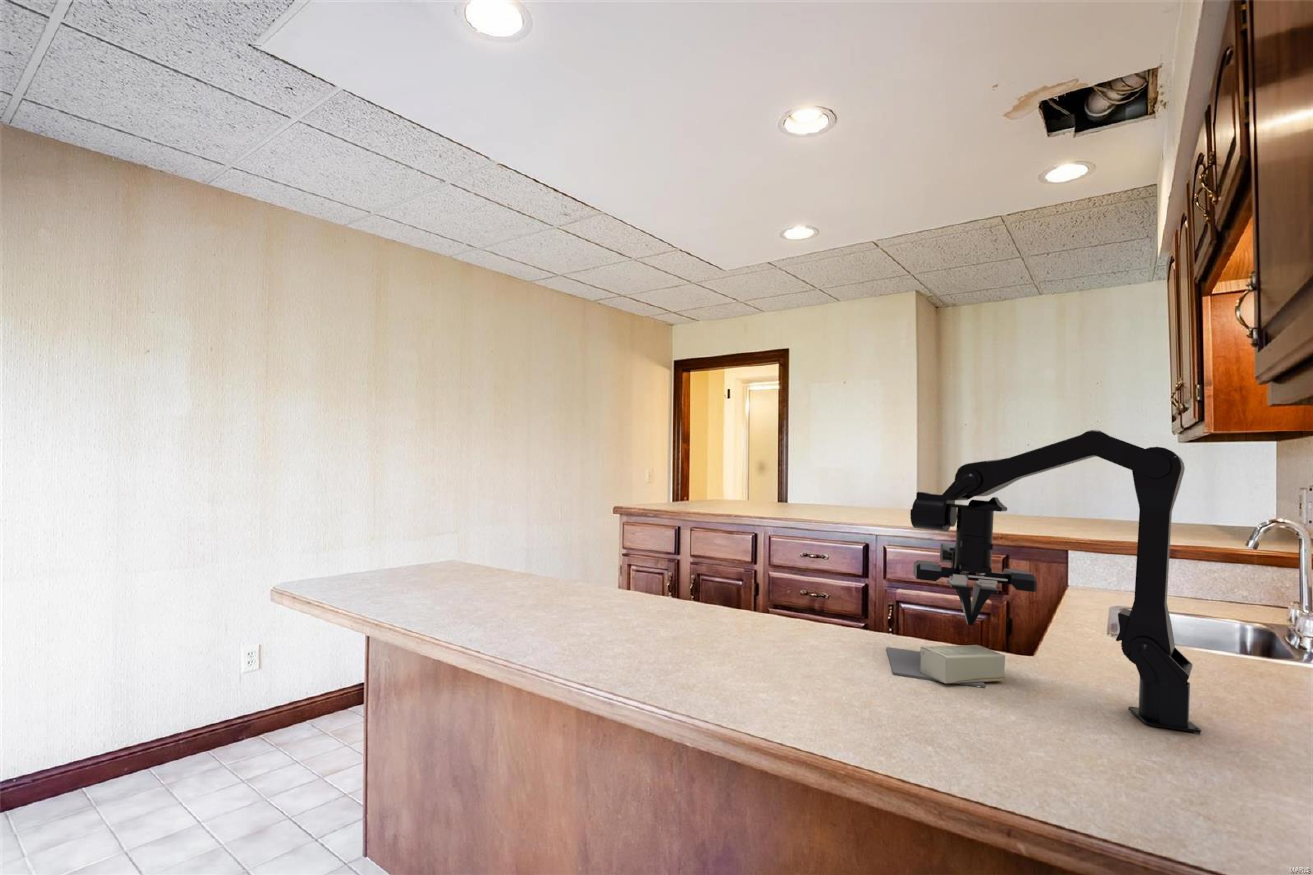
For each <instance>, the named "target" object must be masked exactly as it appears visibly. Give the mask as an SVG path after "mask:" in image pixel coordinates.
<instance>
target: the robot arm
mask: <svg viewBox="0 0 1313 875" xmlns="http://www.w3.org/2000/svg"><path fill="white" fill-rule="evenodd" d="M1095 457H1097V458H1100V459H1102V460H1105V461H1108V462H1111V463H1113V464H1115V465H1117V466H1121V467H1123V468H1125V469H1128V470H1129V471H1131V473H1132V479H1133V483H1134V489H1135V490H1134V491H1135V494H1136V498H1137V499H1136V500H1137V503H1138V508H1139V510H1138V511H1139V513H1138V515H1139V516H1138V530H1137V531H1138V532H1137V547H1136V548H1137V550H1136V564H1135V565H1136V566H1135V582H1134V583H1135V584H1134V597H1133V598H1134V599H1133V602H1132V607H1131V608H1130V609H1129V608H1123V609H1122V610H1120V611H1119V612H1118V613H1117V620H1118V626H1119V631H1118V635H1117V637H1116V638H1115V641H1116V642H1120V641H1121V643H1120V645H1121V652H1123V655H1124V657H1126V659H1128V660H1129V662H1130V663H1132V664H1134V665H1135V667H1136V670H1137V672H1138V675H1139V683H1138V684H1139V688H1138V707H1137V706H1128V707H1127V708H1128V711H1130V713H1132V714H1133V715H1134V716H1135V717H1136V718H1138V719H1139V720H1140V721H1141V722H1143V723H1145V725H1147V726H1151V727H1157V728H1158V727H1159V728H1164V729H1171V730H1176V731H1178V730H1179V731H1184V732H1191V733H1196V734H1197V733H1198V734H1201V732H1202V729H1201V728H1200V727H1198V726H1197V725H1196V724H1194V723H1193V722H1191V721H1190V696H1191V694H1190V693H1191V683H1190V682H1189V681H1188V680H1189V678H1190V676H1191V672H1192V670H1193V666H1194V665H1193V663H1192V662H1191V661H1190V660H1189V659H1188V658H1187V657H1185V655H1183V653H1182V652H1180V650H1178V649H1177V648H1176V647H1175V644H1176V643H1175V638H1174V632H1173V631H1174V630H1173V626H1172V625H1173V624H1172V620H1171V616H1170V612H1169V607H1168V606H1169V605H1168V585H1169V570H1170V569H1169V568H1170V554H1171V553H1170V551H1171V549H1170V548H1171V534H1172V517H1173V516H1172V514H1173V510H1174V505H1175V502H1176V500H1177V497H1178V494H1179V491H1180V488H1181V484H1182V481H1183V478H1184V473H1185V463H1184V461H1183V459H1182V457H1180V456H1179V455H1178V454H1177V453H1176V452H1174V451H1172V450H1170V449H1168V448H1166V447H1160V446H1150V447H1146V448H1144V447H1141V446H1139V445H1136V444H1133V443H1129V442H1127V441H1125V440H1121V439H1118V438H1116V437H1114V436H1111V435H1109V434H1108V433H1105V432H1103V431H1101V430H1099V429H1091V430H1087V431H1085V432H1083V433H1082V434H1078V435H1077V436H1074V437H1070V438H1067V439H1063V440H1061V441H1058V442H1054V443H1051V444H1048V445H1045V446H1042V447H1039V448H1035V449H1032V450H1030V451H1025V452H1023V453H1019V454H1017V455H1014V456H1011V457H1005V458H1000V459H991V460H981V461H975V462H969V463H965V464H963V465H961V466H959V468H957V470H956V473H955V474H954V481H953V482H952V483H951V484H950V486H949V487H948V488H947V489H946V490H945V491H944V492H943V493H942V494H936V493H929V492H925V491H917V492H916V498H915V499H914V501H913V504H912V507H911V508H912V509H910V512H909V513H910V523H911V525H912V528H913V529H921V530H929V531H937V532H944V533H946V532H948V531H950V528H951V527H952V528H955V526H956V529H955V530H956V531H955V546H954V545H953V544H951V543H941V544H940V548H939V551H940V552H939V561H940V562H941V563H949V564H950V566H949V567H946V566H941V564H940V563H939V562H938V561H933V560H931V561H930V560H921V559H916V560H915V561H914V562H913V569H912V575H913V576H914V578H915V579H916V580H920V581H929V582H937V581H939V580H940V579H941V578H946V579H947V580H946V582H947V583H946V584H947V585H948V586H950V588H952V589H955V591H956V594H957V596H958V598H959V601H960V604H961V608H962V611H963V614H964V617H965V621H966V624H967V626H972V627H973V626H974V625H975V623H976V621H977V619H978V617H979V616H980V615H979V614H980V613H981V611H982V608H983V607H984V605H985V604H986V603H987V601H988V600H989V598H990V597H991V595H992V594H998V593H999V589H998V588H997V586H998V584H1005V585H1009V586H1010V585H1011V586H1012V588H1014V589H1015V591H1023V592H1032V593H1036V592H1037V591H1038V590H1037V588H1038V587H1037V584H1038V581H1037V577H1036V576H1035V575H1034V574H1032V573H1031V572H1029V571H1027V570H1022V569H1013V568H1003V571H1002V572H996V571H992V570H993V568H992V559H993V558H992V557H993V556H992V555H993V554H992V553H993V549H994V548H993V547H994V544H993V539H994V538H993V534H994V513H995V512H998V513H999V512H1001V513H1002V512H1007V511H1008V507H1007V506H1006V505H1004V504H1003V503H1002V502H1001V501H1000V498H998V497H995V496H994V497H991V498H990V499H989V500H982V499H973V498H974V497H975V498H976V497H987V496H990V495H993V494H994V493H996V492H999V491H1001V490H1002V489H1005V488H1007V487H1009V486H1010V485H1012V484H1013V483H1016V482H1018V481H1019V480H1021V479H1023V478H1028V477H1031V476H1034V475H1038V474H1040V473H1045V472H1047V471H1050V470H1055V469H1057V468H1061V467H1065V466H1068V465H1071V464H1074V463H1078V462H1081V461H1085V460H1088V459H1091V458H1095ZM970 499H971V500H970ZM968 500H970V501H968ZM956 501H968V504H958V503H956ZM969 581H975V582H972V590H971V586H970V585H968V582H969ZM971 594H972V595H971Z"/></svg>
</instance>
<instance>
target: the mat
mask: <svg viewBox="0 0 1313 875" xmlns="http://www.w3.org/2000/svg"><path fill="white" fill-rule="evenodd" d="M885 651H886V654H887V657H888V660H889V664H890V668H891V672H892V675H893V676H899V677H906V678H914V679H920V680H928V681H934V682H940V683H942V682H941V681H938V680H936V679H934V678H932V677H930V676H928V675H926V674H924V673H922V672H920V651H919V650H913V649H911V650H910V649H904V648H897V647H890V646H886V647H885ZM953 684H955V685H960V686H968V685H971V686H970V687H975V686H980V687H979V688H982V687H986V686H987V685H986V684H985V682H964V683H953Z"/></svg>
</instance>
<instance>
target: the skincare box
mask: <svg viewBox="0 0 1313 875" xmlns="http://www.w3.org/2000/svg"><path fill="white" fill-rule="evenodd" d="M1005 666H1006V655H1005V654H1003V653H1000V652H998V651H995V650H992V649H990V648H987V647H984V646H982V645H978V644H969V645H968V644H966V645H963V644H962V645H933V646H931V645H930V646H929V645H927V646H925V645H924V646H920V672H922V673H924V674H926V675H928V676H930V677H932V678H934V679H936V680H938V681H937V682H940V681H941V682H940V683H944V684H954V683H964V682H984V683H985V682H1001V681H1002V682H1004V681H1005Z"/></svg>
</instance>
